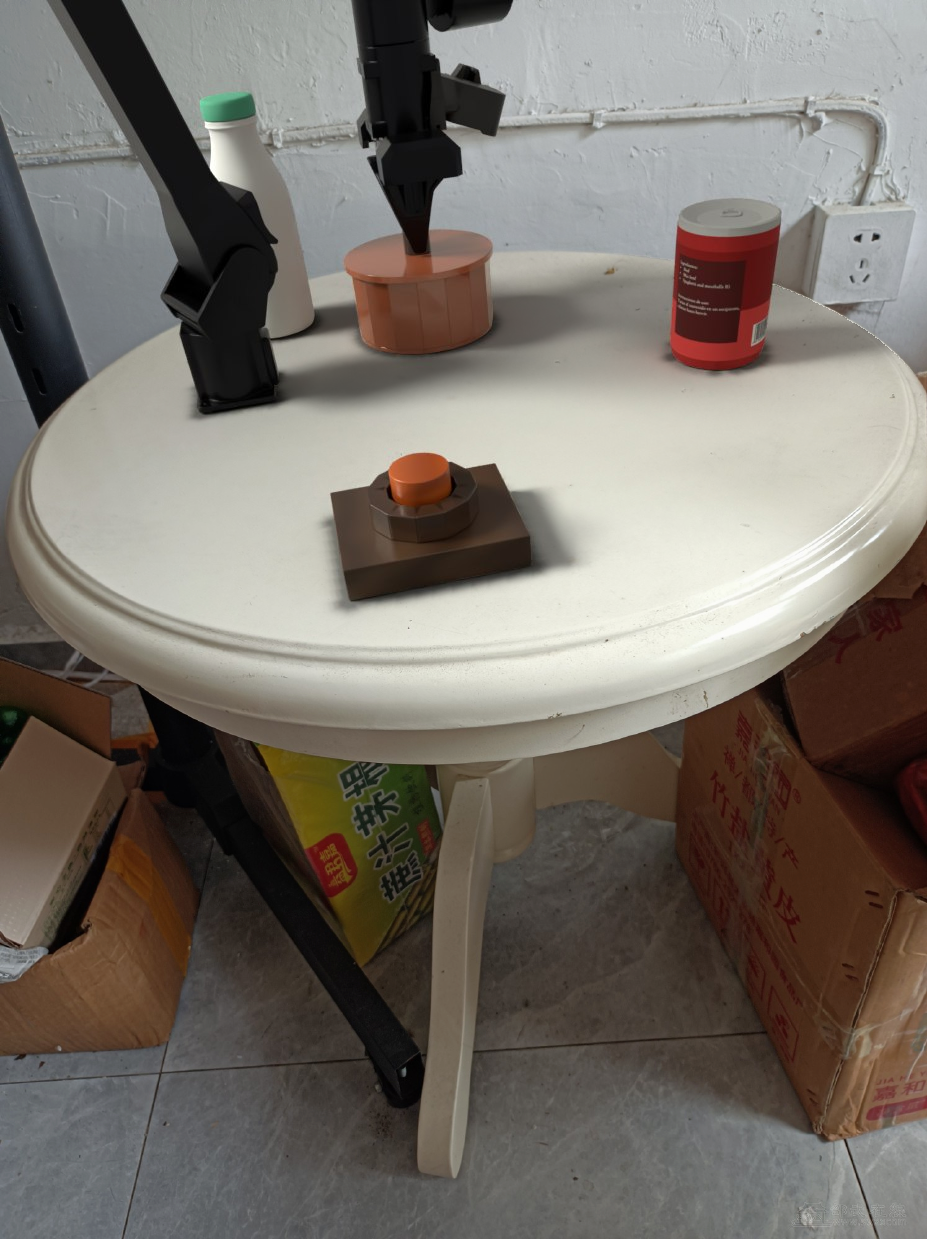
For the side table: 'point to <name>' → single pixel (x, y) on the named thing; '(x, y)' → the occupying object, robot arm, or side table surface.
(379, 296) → the jar
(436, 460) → the button
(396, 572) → the block
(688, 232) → the canned food
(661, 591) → the side table surface
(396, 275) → the jar lid
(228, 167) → the milk bottle
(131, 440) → the side table surface
